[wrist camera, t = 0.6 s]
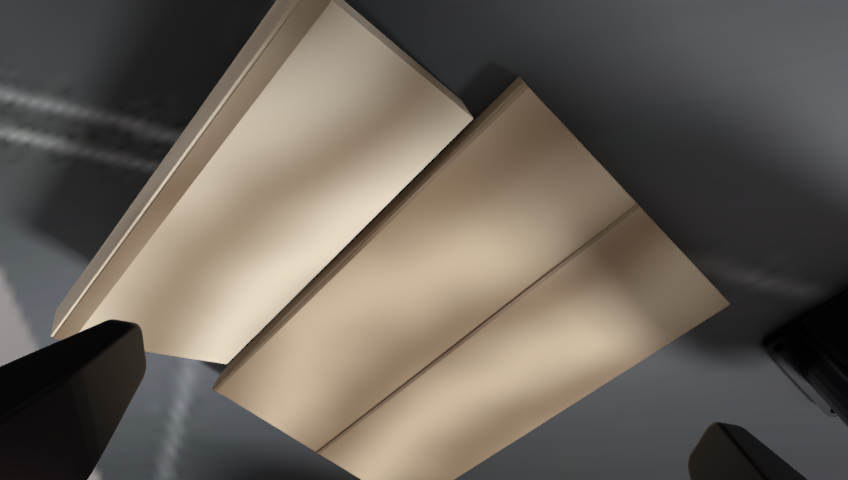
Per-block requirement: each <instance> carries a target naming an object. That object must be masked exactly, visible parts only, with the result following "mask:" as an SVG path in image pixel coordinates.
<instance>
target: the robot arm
mask: <svg viewBox="0 0 848 480" xmlns="http://www.w3.org/2000/svg"><path fill="white" fill-rule="evenodd" d="M776 344H777V345H776ZM762 346H763V348H764V349H765V350H766V351H767V352H768V353H769V355H770V356H771V357H772V358H773V359H774V360H775V361H776V362H777V363H778V364H779V365H780V366H781V367H782V368H783V369H784V371H785V372H786V373H787V374H788V375H789V376H790V377H791V378H792V379H793V380H794V381H795V382H796V383H797V384H798V385H799V386H800V388H801V389H802V390H803V391H804V392H805V393H806V394H807V395H808V396H809V397H810V398H811V399H812V400H813V401H814V402H815V404H816V405H817V406H818V407H819V408H820V409H821V410H822V411H823V412H824V413H825V414H826V415H827V416H830V417H836V416H839V418H840V419H841V420H842V421H843V422H844V423H845V424H846V425H847V426H848V289H847V290H845V291H843V292H842V293H840V294H838V295H836V296H835V297H833V298H831V299H830V300H828V301H826V302H825V303H823V304H821V305H819V306H818V307H816V308H814V309H813V310H811V311H809V312H808V313H806V314H804V315H802V316H801V317H799V318H797V319H796V320H794V321H792V322H791V323H789V324H787V325H785V326H784V327H782V328H780V329H779V330H777V331H775V332H774V333H772V334H770V335H769V336H767V337H766V338H765V339H764V340H763V342H762ZM145 370H146V356H145V349H144V341H143V333H142V329H141V327H140V326H139V325H138V324H136V323H134V322H128V321H122V320H116V319H111V320H107V321H104V322H102V323H100V324H97V325H95V326H93V327H90V328H88V329H86V330H84V331H81V332H79V333H77V334H74V335H72V336H70V337H67V338H65V339H63V340H61V341H58V342H56V343H54V344H51V345H49V346H47V347H44V348H42V349H40V350H38V351H35V352H33V353H31V354H28V355H26V356H24V357H21V358H19V359H17V360H15V361H12V362H10V363H8V364H5V365H3V366H1V367H0V480H87V479H88V478H89V476H90V475H91V473H92V471H93V470H94V468H95V466H96V464H97V463H98V461H99V459H100V457H101V456H102V454H103V452H104V450H105V448H106V446H107V444H108V443H109V441H110V439H111V437H112V435H113V433H114V431H115V430H116V428H117V426H118V424H119V422H120V420H121V418H122V417H123V415H124V413H125V411H126V409H127V407H128V405H129V404H130V402H131V400H132V398H133V396H134V394H135V392H136V391H137V389H138V387H139V385H140V383H141V381H142V379H143V377H144V374H145ZM688 469H689V475H690V479H691V480H807V479H806V478H805V477H804V476H802V475H801V474H800V473H799V472H797V471H796V470H795V469H794V468H793V467H791V466H790V465H789V464H788V463H786V462H785V461H784V460H783V459H781V458H780V457H779V456H778V455H776V454H775V453H774V452H773V451H772V450H770V449H769V448H768V447H767V446H765V445H764V444H763V443H762V442H760V441H759V440H758V439H757V438H756V437H754V436H753V435H752V434H751V433H749V432H748V431H747V430H746V429H744V428H742V427H740V426H737V425H732V424H726V423H721V422H714V423H712V424H710V425H709V426H708V427H707V429H706V430H705V432H704V433H703V435H702V437H701V438H700V440H699V441H698V443H697V444H696V446H695V447H694V449H693V451H692V452H691V454H690V456H689V461H688Z"/></svg>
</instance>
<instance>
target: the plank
mask: <svg viewBox="0 0 848 480" xmlns="http://www.w3.org/2000/svg"><path fill="white" fill-rule="evenodd" d="M473 119H474V118H473V117H472V116H471V114H470V113H469V111H468V110H467V108H466V107H465V105H464V104H463V102H462V101H461V100H460V99H459V98H458V97H457V96H455V95H454V94H453V93H452V92H451V91H450V90H448V89H447V88H446V87H445V86H444V85H443V84H441V83H440V82H439V81H438V80H437V79H435V78H434V77H433V76H432V75H431V74H430V73H428V72H427V71H426V70H425V69H424V68H423V67H421V66H420V65H419V64H418V63H417V62H415V61H414V60H413V59H412V58H411V57H410V56H408V55H407V54H406V53H405V52H404V51H403V50H401V49H400V48H399V47H398V46H397V45H396V44H394V43H393V42H392V41H391V40H390V39H388V38H387V37H386V36H385V35H384V34H383V33H381V32H380V31H379V30H378V29H377V28H376V27H374V26H373V25H372V24H371V23H370V22H369V21H367V20H366V19H365V18H364V17H363V16H361V15H360V14H359V13H358V12H357V11H356V10H354V9H353V8H352V7H351V6H350V5H349V4H347V3H346V2H345V1H344V0H276V2H275V3H274V4H273V6H272V7H271V9H270V10H269V11H268V13H267V14H266V16H265V17H264V19H263V20H262V21H261V23H260V24H259V26H258V27H257V28H256V30H255V31H254V33H253V34H252V35H251V37H250V38H249V40H248V41H247V42H246V44H245V45H244V47H243V48H242V49H241V51H240V52H239V54H238V55H237V56H236V58H235V59H234V61H233V62H232V64H231V65H230V66H229V68H228V69H227V71H226V72H225V73H224V75H223V76H222V78H221V79H220V80H219V82H218V83H217V85H216V86H215V87H214V89H213V90H212V92H211V93H210V94H209V96H208V97H207V99H206V100H205V102H204V103H203V104H202V106H201V107H200V109H199V110H198V111H197V113H196V114H195V116H194V117H193V118H192V120H191V121H190V123H189V124H188V125H187V127H186V128H185V130H184V131H183V132H182V134H181V135H180V137H179V138H178V140H177V141H176V142H175V144H174V145H173V147H172V148H171V149H170V151H169V152H168V154H167V155H166V156H165V158H164V159H163V161H162V162H161V163H160V165H159V166H158V168H157V169H156V170H155V172H154V173H153V175H152V176H151V178H150V179H149V180H148V182H147V183H146V185H145V186H144V187H143V189H142V190H141V192H140V193H139V194H138V196H137V197H136V199H135V200H134V201H133V203H132V204H131V206H130V207H129V208H128V210H127V211H126V213H125V214H124V216H123V217H122V218H121V220H120V221H119V223H118V224H117V225H116V227H115V228H114V230H113V231H112V232H111V234H110V235H109V237H108V238H107V239H106V241H105V242H104V244H103V245H102V246H101V248H100V249H99V251H98V252H97V254H96V255H95V256H94V258H93V259H92V261H91V262H90V263H89V265H88V266H87V268H86V269H85V270H84V272H83V273H82V275H81V276H80V277H79V279H78V280H77V282H76V283H75V284H74V286H73V287H72V289H71V290H70V292H69V293H68V294H67V296H66V297H65V299H64V300H63V301H62V303H61V304H60V306H59V307H58V308H57V310H56V313H55V318H54V322H53V327H52V332H51V336H52V337H54V339H61V340H63V339H65V338H67V337H70V336H72V335H74V334H77V333H79V332H81V331H84V330H86V329H88V328H90V327H93V326H95V325H97V324H100V323H102V322H104V321H107V320H111V319H116V320H122V321H128V322H134V323H136V324H138V325H139V326H140V327H141V329H142V333H143V341H144V349H145V351H146V352H152V353H158V354H165V355H171V356H177V357H183V358H190V359H196V360H202V361H208V362H215V363H221V364H228V363H229V362H230V361H231V360H232V359H233V358H234V357H235V356H236V355H237V354H238V353H239V352H240V351H241V350H242V349H243V348H244V347H245V346H246V345H247V344H248V343H249V342H250V341H251V340H252V339H253V338H254V337H255V336H256V335H257V334H258V333H259V332H260V331H261V330H262V329H263V328H264V327H265V326H266V325H267V324H268V323H269V322H270V321H271V320H272V319H273V318H274V317H275V316H276V315H277V314H278V313H279V312H280V311H281V310H282V309H283V308H284V307H285V306H286V305H287V304H288V303H289V302H290V301H291V300H292V299H293V298H294V297H295V296H296V295H297V294H298V293H299V292H300V291H301V290H302V289H303V288H304V287H305V286H306V285H307V284H308V283H309V282H310V281H311V280H312V279H313V278H314V277H315V276H316V275H317V274H318V273H319V272H320V271H321V270H322V269H323V268H324V267H325V266H326V265H327V264H328V263H329V262H330V261H331V260H332V259H333V258H334V257H335V256H336V255H337V254H338V253H339V252H340V251H341V250H342V249H343V248H344V247H345V246H346V245H347V244H348V243H349V242H350V241H351V240H352V239H353V238H354V237H355V236H356V235H357V234H358V233H359V232H360V231H361V230H362V229H363V228H364V227H365V226H366V225H367V224H368V223H369V222H370V221H371V220H372V219H373V218H374V217H375V216H376V215H377V214H378V213H379V212H380V211H381V210H382V209H383V208H384V207H385V206H386V205H387V204H388V203H389V202H390V201H391V200H392V199H393V198H394V197H395V196H396V195H397V194H398V193H399V192H400V191H401V190H402V189H403V188H404V187H405V186H406V185H407V184H408V183H409V182H410V181H411V180H412V179H414V178H415V177H416V176H417V175H418V174H419V173H420V172H421V171H422V170H423V169H424V168H425V167H426V166H427V165H428V164H429V163H430V162H431V161H432V160H433V159H434V158H435V157H436V156H437V155H438V154H439V153H440V152H441V151H442V150H443V149H444V148H445V147H446V146H447V145H448V144H449V143H450V142H451V141H452V140H453V139H454V138H455V137H456V136H457V135H458V134H459V133H460V132H461V131H462V130H463V129H464V128H465V127H466V126H467V125H468V124H469V123H470V122H471V121H472V120H473Z"/></svg>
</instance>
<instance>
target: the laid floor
mask: <svg viewBox="0 0 848 480" xmlns="http://www.w3.org/2000/svg"><path fill="white" fill-rule="evenodd" d="M729 305H730V303H729V302H728V301H727V300H726V299H725V298H724V297H723V295H722V294H721V293H720V292H719V291H718V290H717V289H716V288H715V286H714V285H713V284H712V283H711V282H710V281H709V280H708V279H707V278H706V277H705V276H704V275H703V274H702V272H701V271H700V270H699V269H698V268H697V267H696V266H695V265H694V264H693V263H692V262H691V261H690V260H689V258H688V257H687V256H686V255H685V254H684V253H683V252H682V251H681V250H680V249H679V248H678V247H677V246H676V245H675V243H674V242H673V241H672V240H671V239H670V238H669V237H668V236H667V235H666V234H665V233H664V232H663V231H662V229H661V228H660V227H659V226H658V225H657V224H656V223H655V222H654V221H653V220H652V219H651V218H650V217H649V215H648V214H647V213H646V212H645V211H644V210H643V209H642V208H641V207H640V206H639V205H638V204H637V203H636V201H635V200H634V199H633V198H632V197H631V196H630V195H629V194H628V193H627V192H626V191H625V190H624V189H623V188H622V186H621V185H620V184H619V183H618V182H617V181H616V180H615V179H614V178H613V177H612V176H611V175H610V174H609V172H608V171H607V170H606V169H605V168H604V167H603V166H602V165H601V164H600V163H599V162H598V161H597V160H596V158H595V157H594V156H593V155H592V154H591V153H590V152H589V151H588V150H587V149H586V148H585V147H584V146H583V145H582V143H581V142H580V141H579V140H578V139H577V138H576V137H575V136H574V135H573V134H572V133H571V132H570V131H569V129H568V128H567V127H566V126H565V125H564V124H563V123H562V122H561V121H560V120H559V119H558V118H557V117H556V115H555V114H554V113H553V112H552V111H551V110H550V109H549V108H548V107H547V106H546V105H545V104H544V103H543V101H542V100H541V99H540V98H539V97H538V96H537V95H536V94H535V93H534V92H533V91H532V90H531V89H530V88H529V86H528V85H527V84H526V83H525V82H524V81H523V80H522V79H521V78H520V77H518V78H517V79H516V80H515V81H514V82H513V83H512V84H511V85H510V86H509V87H508V88H507V89H506V90H505V91H504V92H503V93H502V94H501V95H500V96H499V97H497V98H496V99H495V100H494V101H493V102H492V103H491V104H490V105H489V106H488V107H487V108H486V109H485V110H484V111H483V112H482V113H481V114H480V115H479V116H478V117H477V118H476V119H475V120H474V121H473V122H472V123H471V124H470V125H469V126H468V127H467V128H466V129H465V130H464V131H463V132H462V133H461V134H460V135H459V136H458V137H457V138H456V139H455V140H454V141H453V142H452V143H451V144H450V145H449V146H448V147H447V148H446V149H445V150H444V151H443V152H442V153H441V154H440V155H439V156H438V157H437V158H436V159H435V160H434V161H433V162H432V163H431V164H430V165H429V166H428V167H427V168H426V169H425V170H424V171H423V172H422V173H421V174H420V175H419V176H418V177H417V178H416V179H415V180H414V181H413V182H412V183H411V184H410V185H409V186H408V187H407V188H406V189H405V190H404V191H403V192H402V193H401V194H400V195H399V196H398V197H397V198H396V199H395V200H394V201H393V202H392V203H391V204H390V205H389V206H388V207H387V208H386V209H385V210H384V211H383V212H382V213H381V214H380V215H379V216H378V217H377V218H376V219H375V220H374V221H373V222H372V223H371V224H370V225H369V226H368V227H367V228H366V229H365V230H364V231H363V232H362V233H361V234H360V235H358V236H357V237H356V238H355V239H354V240H353V241H352V242H351V243H350V244H349V245H348V246H347V247H346V248H345V249H344V250H343V251H342V252H341V253H340V254H339V255H338V256H337V257H336V258H335V259H334V260H333V261H332V262H331V263H330V264H329V265H328V266H327V267H326V268H325V269H324V270H323V271H322V272H321V273H320V274H319V275H318V276H317V277H316V278H315V279H314V280H313V281H312V282H311V283H310V284H309V285H308V286H307V287H306V288H305V289H304V290H303V291H302V292H301V293H300V294H299V295H298V296H297V297H296V298H295V299H294V300H293V301H292V302H291V303H290V304H289V305H288V306H287V307H286V308H285V309H284V310H283V311H282V312H281V313H280V314H279V315H278V316H277V317H276V318H275V319H274V320H273V321H272V322H271V323H270V324H269V325H268V326H267V327H266V328H265V329H264V330H263V331H262V332H261V333H260V334H259V335H258V336H257V337H256V338H255V339H254V340H253V341H252V342H251V343H250V344H249V345H248V346H247V347H246V348H245V349H244V350H243V351H242V352H241V353H240V354H239V355H238V356H237V357H236V358H235V359H234V360H233V361H232V362H231V363H230V364H229V365H228V366H227V367H226V368H225V369H224V370H223V371H222V372H221V374H220V376H219V377H218V379H217V381H216V383H215V384H214V386H213V388H212V389H213V391H215V392H216V391H217V392H219V393H221V394H222V395H224V396H225V397H227V398H229V399H230V400H232V401H234V402H235V403H237V404H239V405H240V406H242V407H243V408H245V409H247V410H248V411H250V412H252V413H253V414H255V415H257V416H258V417H260V418H261V419H263V420H265V421H266V422H268V423H270V424H271V425H273V426H274V427H276V428H278V429H279V430H281V431H283V432H284V433H286V434H288V435H289V436H291V437H292V438H294V439H296V440H297V441H299V442H301V443H302V444H304V445H305V446H307V447H309V448H310V449H312V450H314V451H315V452H316V454H318V455H319V454H320V455H322V456H323V457H325V458H327V459H328V460H330V461H332V462H333V463H335V464H337V465H338V466H340V467H341V468H343V469H345V470H346V471H348V472H350V473H351V474H353V475H354V476H356V477H358V478H359V479H361V480H454V479H456V478H457V477H459V476H460V475H462V474H463V473H465V472H467V471H468V470H470V469H471V468H473V467H474V466H476V465H478V464H479V463H481V462H482V461H484V460H486V459H487V458H489V457H490V456H492V455H493V454H495V453H497V452H498V451H500V450H501V449H503V448H504V447H506V446H508V445H509V444H511V443H512V442H514V441H516V440H517V439H519V438H520V437H522V436H523V435H525V434H527V433H528V432H530V431H531V430H533V429H535V428H536V427H538V426H539V425H541V424H542V423H544V422H546V421H547V420H549V419H550V418H552V417H553V416H555V415H557V414H558V413H560V412H561V411H563V410H565V409H566V408H568V407H569V406H571V405H572V404H574V403H576V402H577V401H579V400H580V399H582V398H583V397H585V396H587V395H588V394H590V393H591V392H593V391H595V390H596V389H598V388H599V387H601V386H602V385H604V384H606V383H607V382H609V381H610V380H612V379H613V378H615V377H617V376H618V375H620V374H621V373H623V372H625V371H626V370H628V369H629V368H631V367H632V366H634V365H636V364H637V363H639V362H640V361H642V360H643V359H645V358H647V357H648V356H650V355H651V354H653V353H655V352H656V351H658V350H659V349H661V348H662V347H664V346H666V345H667V344H669V343H670V342H672V341H674V340H675V339H677V338H678V337H680V336H681V335H683V334H685V333H686V332H688V331H689V330H691V329H692V328H694V327H696V326H697V325H699V324H700V323H702V322H704V321H705V320H707V319H708V318H710V317H711V316H713V315H715V314H716V313H718V312H719V311H721V310H722V309H724V308H726V307H727V306H729Z"/></svg>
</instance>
